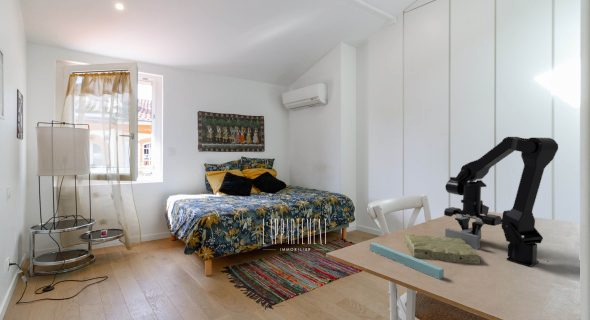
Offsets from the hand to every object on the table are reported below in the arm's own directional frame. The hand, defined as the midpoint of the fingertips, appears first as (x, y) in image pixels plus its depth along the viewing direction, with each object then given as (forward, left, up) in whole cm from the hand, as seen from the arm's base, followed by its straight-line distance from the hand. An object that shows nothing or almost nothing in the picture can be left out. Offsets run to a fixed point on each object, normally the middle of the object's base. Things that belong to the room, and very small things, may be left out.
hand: (470, 238), depth 113 cm
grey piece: (0, +1, -1) cm, 1 cm away
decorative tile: (0, +20, -2) cm, 20 cm away
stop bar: (0, +39, -2) cm, 39 cm away
